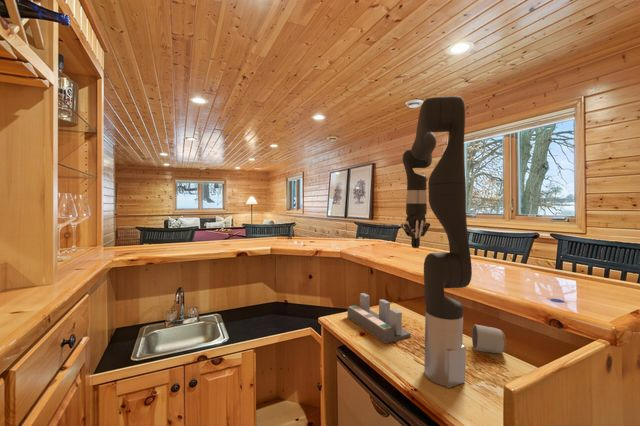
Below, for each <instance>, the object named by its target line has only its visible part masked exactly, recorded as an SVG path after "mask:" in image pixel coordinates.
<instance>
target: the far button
mask: <svg viewBox="0 0 640 426" xmlns="http://www.w3.org/2000/svg"><path fill="white" fill-rule="evenodd" d="M370 299H371V297H370V295H369V294H367V293H365V292H363V293H362V292H361V293H359V307H360V308H361V309H363V310H365V311H366V312H368V313H370V310H371V309H370V307H371V305H370Z"/></svg>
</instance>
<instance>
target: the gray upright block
mask: <svg viewBox="0 0 640 426" xmlns="http://www.w3.org/2000/svg"><path fill="white" fill-rule="evenodd" d="M390 309H391V302H390V301H388V300H386V299H379V300H378V315H379V320H381V321H383V322H384V323H389V318H390Z"/></svg>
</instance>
